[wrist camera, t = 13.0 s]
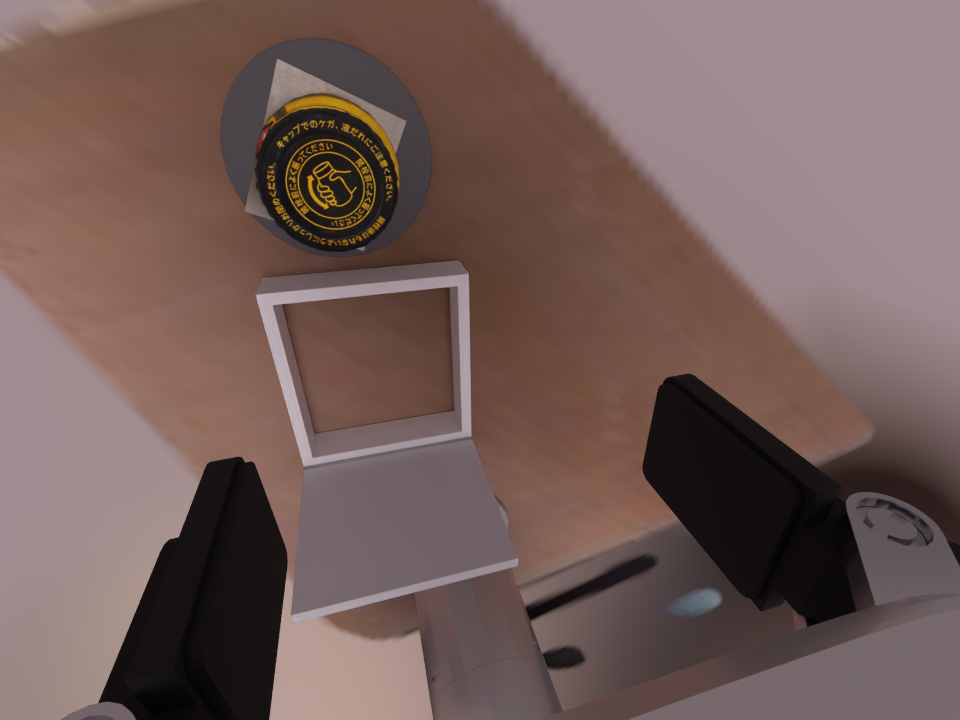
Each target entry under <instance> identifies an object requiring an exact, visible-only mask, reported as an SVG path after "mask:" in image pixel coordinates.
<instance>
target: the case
mask: <svg viewBox="0 0 960 720" xmlns="http://www.w3.org/2000/svg"><path fill="white" fill-rule="evenodd" d="M444 287H449V288H450V313H451V338H452V363H453V388H454V411H448V412H442V413H436V414H430V415H424V416H418V417H412V418H406V419H400V420H394V421H388V422H382V423H376V424H370V425H364V426H358V427H352V428H346V429H340V430H334V431H328V432H322V433H316V434H314V430H313V426H312V422H311V418H310V414H309V410H308V406H307V402H306V398H305V394H304V390H303V386H302V383H301V379H300V375H299V371H298V367H297V363H296V359H295V355H294V351H293V347H292V343H291V339H290V335H289V331H288V327H287V323H286V319H285V315H284V311H283V307H282V304H289V303H299V302H308V301H318V300H328V299H337V298H347V297H357V296H366V295H376V294H386V293H396V292H405V291H415V290H425V289H434V288H444ZM256 298H257V302H258V305H259V309H260V312H261V316H262V320H263V323H264V327H265V330H266V334H267V337H268V341H269V344H270V348H271V352H272V355H273V359H274V362H275V366H276V369H277V373H278V377H279V380H280V384H281V387H282V391H283V394H284V398H285V401H286V405H287V409H288V412H289V416H290V419H291V423H292V426H293V430H294V433H295V437H296V441H297V444H298V448H299V451H300V455H301V458H302V462H303V466H304V474H303V485H302V496H301V508H300V519H299V530H298V541H297V553H296V564H295V575H294V586H293V598H292V610H291V617H292V619H293V622H294V623H297V622H301V621H305V620H309V619H312V618H317V617H320V616H324V615H328V614H332V613H336V612H340V611H344V610H348V609H352V608H356V607H360V606H363V605H367V604H371V603H375V602H379V601H383V600H387V599H391V598H395V597H399V596H402V595H406V594H410V593H414V592H418V591H422V590H426V589H430V588H434V587H438V586H442V585H445V584H449V583H453V582H457V581H461V580H465V579H469V578H473V577H477V576H481V575H485V574H488V573H492V572H496V571H500V570H504V569H508V568H512V567H516V566H518V556H517V553H516V551H515V548H514V546H513V543H512V540H511V538H510V535H509V533H508V530H507V527H506V525H505V522H504V520H503V517H502V515H501V512H500V509H499V507H498V504H497V502H496V499H495V497H494V494H493V491H492V489H491V486H490V484H489V481H488V479H487V476H486V473H485V471H484V468H483V466H482V463H481V460H480V458H479V455H478V453H477V450H476V448H475V445H474V442H473V440H472V436H471V380H470V317H469V274H468V272H467V271H466V269H465V268H464V267H463V265H462V264H461V262H460V261H459V260H457V261H446V262H435V263H424V264H412V265H401V266H390V267H379V268H368V269H357V270H346V271H335V272H323V273H312V274H301V275H290V276H279V277H268V278H262V280H261V282H260V285H259V287H258V290H257V292H256Z"/></svg>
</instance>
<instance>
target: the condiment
mask: <svg viewBox="0 0 960 720" xmlns="http://www.w3.org/2000/svg"><path fill="white" fill-rule="evenodd" d="M405 124H406V121H405V120H403V119H401V118H399V117H397V116H395V115H393V114H391V113H389V112H387V111H385V110H382V109H380V108H378V107H376V106H374V105H372V104H370V103H368V102H366V101H364V100H362V99H360V98H358V97H356V96H354V95H351V94H349V93H347V92H345V91H343V90H341V89H339V88H337V87H335V86H333V85H331V84H329V83H327V82H325V81H323V80H321V79H318V78H316V77H314V76H313V75H310V74H308V73H306V72H304V71H302V70H300V69H298V68H296V67H294V66H292V65H290V64H288V63H285V62H283V61H281V60H279V59H277V62H276V67H275V72H274V77H273V81H272V86H271V91H270V96H269V101H268V105H267V110H266V115H265V119H264V124H263V128H262V131H261V133H260V135H259V139H258V143H257V147H256V151H255V166H254V169H253V175H252V179H251V184H250V189H249V193H248V197H247V202H246V207H245V212H248V213H251V214H254V215H257V216H261V217H264V218H267V219H270V220H273V221H275V224H276V225H277V226H279V228H281V229H283V230H284V231H285V232H286V234H287V235H289V236H290V237H291V238H293V239H294V240H296V241H298V242H299V243H302V244H304V245H306V246H308V247H311V248H315V249H317V250H322V251H327V252H346V251H349V250H353V249H359V250H362V251H364V249H365V246H367V245H368V244H369V243H370V242H371V241H372V240H375V239H376V238H377V236H378V235H379V234H381V232H382V231H383V230H385V229H386V227H387V225H388V223H389V222H390V220H392V216H393V214H394V209H395V207H396V206H397V201H398V193H399V186H400V182H399V167H398V161H397V157H396V151H397V148H398V145H399V142H400V139H401V136H402V133H403V130H404V127H405Z"/></svg>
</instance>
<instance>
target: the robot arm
mask: <svg viewBox="0 0 960 720" xmlns="http://www.w3.org/2000/svg"><path fill="white" fill-rule="evenodd" d="M643 473H644V476H645V478H646V480H647V481H648V482H649V483H650V485H651V486H652V487H653V488H654V489H655V491H656V492H657V493H658V494H659V496H660V497H661V498H662V499H663V500H664V502H665V503H666V504H667V505H668V506H669V508H670V509H671V510H672V511H673V513H674V514H675V515H676V516H677V517H678V519H679V520H680V521H681V522H682V523H683V525H684V526H685V527H686V528H687V530H688V531H689V532H690V533H691V534H692V536H693V537H694V538H695V539H696V540H697V542H698V543H699V544H700V545H701V547H702V548H703V549H704V550H705V551H706V553H708V555H709V556H710V557H711V559H712V560H713V561H714V562H715V564H716V565H717V566H718V567H719V568H720V570H721V571H722V572H723V573H724V574H725V576H726V577H727V578H728V579H729V581H730V582H731V583H732V584H733V585H734V587H735V588H736V589H737V590H738V591H739V592H740V593H741V594H742V595H743V596H745V597H747V598H750V599H751V600H752V601H753V602H754V604H755V605H756V606H757V607H758V608H759V610H760V611H764V610H767V609H770V608H773V607H776V606H779V605H782V604H783V602H784V600H786V601H787V602H788V603H789V604H790V605H791V607H792V608H793V613H794V620H795V628H796V631H795V632H792V633H789V634H786V635H783V636H780V637H777V638H775V639H771V640H768V641H765V642H763V643H760V644H757V645H754V646H751V647H748V648H745V649H742V650H739V651H736V652H733V653H731V654H727V655H725V656H721V657H718V658H716V659H713V660H710V661H707V662H704V663H701V664H698V665H695V666H692V667H690V668H687V669H684V670H681V671H678V672H675V673H672V674H669V675H666V676H664V677H661V678H658V679H655V680H652V681H649V682H646V683H643V684H640V685H637V686H635V687H632V688H629V689H626V690H623V691H621V692H617V693H615V694H612V695H609V696H606V697H603V698H600V699H597V700H594V701H592V702H589V703H586V704H583V705H580V706H577V707H575V708H571V709H569V710H566V711H563V709H562V707H561V704H560V702H559V699H558V696H557V694H556V691H555V688H554V686H553V683H552V680H551V678H550V675H549V672H548V669H547V666H546V663H545V661H544V658H543V655H542V652H541V650H540V647H539V645H538V642H537V639H536V636H535V633H534V630H533V628H532V625H531V622H530V619H529V617H528V614H527V611H526V608H525V606H524V603H523V600H522V598H521V595H520V592H519V589H518V586H517V584H516V581H515V578H514V575H513V573H512V570H511V568H508V569H504V570H500V571H496V572H492V573H488V574H485V575H481V576H477V577H473V578H469V579H465V580H461V581H457V582H453V583H449V584H445V585H442V586H438V587H434V588H430V589H426V590H422V591H418V592H414V597H415V603H416V610H417V616H418V623H419V630H420V636H421V643H422V649H423V655H424V662H425V668H426V676H427V682H428V689H429V695H430V701H431V708H432V715H433V720H960V545H959V544H956V543H952V542H949V541H946V539H945V536H944V534H943V533H942V532H941V530H940V529H939V527H938V526H937V525H936V524H935V523H934V522H933V521H932V520H931V519H930V518H929V517H927V516H926V515H925V514H924V513H922V512H921V511H919V510H917V509H916V508H914V507H912V506H911V505H909V504H907V503H905V502H902V501H900V500H898V499H896V498H892V497H889V496H886V495H883V494H877V493H871V492H864V493H863V492H861V493H856V494H853V495H851V496H850V497H849V498H848V500H847V501H846V502H844V501H842V500H841V499H840V498H838V495H839V493H840V491H841V489H842V487H841V486H840V485H839V484H837V483H836V482H835V481H833V480H832V479H831V478H829V477H828V476H827V475H825V474H824V473H823V472H821V471H820V470H818V469H817V468H816V467H815V466H813V465H812V464H811V463H809V462H808V461H807V460H806V459H804V458H803V457H802V456H800V455H799V454H798V453H796V452H795V451H794V450H792V449H791V448H790V447H788V446H787V445H786V444H784V443H783V442H782V441H780V440H779V439H778V438H776V437H775V436H774V435H772V434H771V433H770V432H768V431H767V430H766V429H764V428H763V427H762V426H760V425H759V424H758V423H756V422H755V421H754V420H752V419H751V418H750V417H748V416H747V415H746V414H745V413H743V412H742V411H741V410H739V409H738V408H737V407H735V406H734V405H733V404H731V403H730V402H729V401H727V400H726V399H725V398H723V397H722V396H721V395H719V394H718V393H717V392H715V391H714V390H713V389H711V388H710V387H709V386H707V385H706V384H705V383H703V382H702V381H701V380H699V379H698V378H697V377H695V376H694V375H692V374H684V375H678V376H673V377H668V378H666V379H665V380H664V382H663V384H662V385H660V387H659V389H658V392H657V397H656V402H655V407H654V412H653V417H652V422H651V427H650V432H649V436H648V441H647V446H646V451H645V456H644V461H643ZM495 499H496V498H495ZM496 502H497V504H498V507H499V509H500V512H501V515H502V517H503V520H504V522H505V525H506V527H507V530H508V527H509V523H508V517H507V514H506V511H505V509H504V507H503V506H502V504H501V503H500V502H499V501H498V500H497V499H496ZM287 563H288V562H287V551H286V547H285V544H284V542H283V539H282V536H281V534H280V531H279V528H278V525H277V523H276V520H275V517H274V515H273V512H272V509H271V507H270V504H269V501H268V498H267V496H266V493H265V490H264V488H263V485H262V482H261V480H260V477H259V474H258V471H257V469H256V466H255V464H254V463H253V462H247V463H245V462H244V460H243V459H242V457H234V458H229V459H224V460H218V461H213V462H209V463H208V464H207V466H206V467H205V470H204V473H203V475H202V478H201V480H200V483H199V486H198V488H197V491H196V494H195V496H194V499H193V502H192V504H191V507H190V509H189V512H188V515H187V517H186V520H185V523H184V525H183V528H182V530H181V533H180V536H179V537H178V538H174V539H170V540H168V541H167V542H166V543H165V545H164V546H163V548H162V550H161V552H160V554H159V556H158V559H157V561H156V564H155V566H154V569H153V571H152V573H151V576H150V578H149V581H148V583H147V586H146V588H145V590H144V593H143V595H142V598H141V600H140V603H139V605H138V608H137V610H136V612H135V615H134V617H133V620H132V622H131V625H130V627H129V629H128V632H127V634H126V637H125V639H124V642H123V644H122V647H121V649H120V651H119V654H118V657H117V659H116V661H115V664H114V666H113V669H112V671H111V673H110V676H109V678H108V681H107V683H106V686H105V688H104V690H103V693H102V695H101V698H100V700H99V703H98V704H93V705H88V706H86V707H84V708H82V709H80V710H78V711H75V712H73V713H71V714H69V715H68V716H66V717H64V718H63V719H61V720H269V716H270V708H271V700H272V691H273V682H274V674H275V666H276V657H277V649H278V641H279V632H280V623H281V615H282V607H283V599H284V590H285V581H286V573H287Z"/></svg>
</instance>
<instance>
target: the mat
mask: <svg viewBox="0 0 960 720" xmlns="http://www.w3.org/2000/svg"><path fill="white" fill-rule="evenodd" d="M277 59H279V60H281V61H283V62H285V63H288V64H290V65H292V66H294V67H296V68H298V69H300V70H302V71H304V72H306V73H308V74H310V75H313V76H314V77H316V78H318V79H321V80H323V81H325V82H327V83H329V84H331V85H333V86H335V87H337V88H339V89H341V90H343V91H345V92H347V93H349V94H351V95H354V96H356V97H358V98H360V99H362V100H364V101H366V102H368V103H370V104H372V105H374V106H376V107H378V108H380V109H382V110H385V111H387V112H389V113H391V114H393V115H395V116H397V117H399V118H401V119H403V120H405V121H406V124H405V127H404V130H403V133H402V136H401V139H400V142H399V145H398V148H397V151H396V157H397V161H398V167H399V182H400V186H399V193H398V201H397V206H396V207H395V209H394V214H393V216H392V220H390V222H389V223H388V225H387V227H386V229H385V230H383V231H382V232H381V234H379V235H378V236H377V238H376V239H375V240H372V241H371V242H370V243H369V244H368V245H367V246H365V249H364V251H362V250H359V249H353V250H349V251H346V252H327V251H322V250H317V249H315V248H311V247H308V246H306V245H304V244H302V243H299V242H298V241H296V240H294V239H293V238H291V237H290V236H289V235H287V234H286V232H285V231H284V230H283V229H281V228H279V226H277V225H276V224H275V221H273V220H270V219H267V218H264V217H261V216H257V215H254V214H252V215H253V216H254V217H255V218H256V219H257V220H258V221H259V222H260V223H261V224H262V225H263V226H264V227H265V228H266V229H268V230H269V231H270V232H271V233H273V234H274V235H275V236H277V237H278V238H280V239H281V240H283V241H285V242H286V243H288V244H290V245H292V246H294V247H296V248H298V249H301V250H304V251H307V252H310V253H313V254H318V255H322V256H330V257H351V256H358V255H363V254H366V253H370V252H373V251H375V250H377V249H380V248H382V247H384V246H385V245H387V244H389V243H390V242H392V241H393V240H395V239H396V238H397V237H398V236H400V235H401V234H402V233H403V232H404V231H405V230H406V229H407V228H408V227H409V226H410V224H411V223H412V222H413V220H414V219H415V218H416V216H417V214H418V212H419V211H420V209H421V207H422V205H423V202H424V200H425V197H426V194H427V191H428V187H429V183H430V175H431V150H430V142H429V138H428V134H427V129H426V127H425V124H424V121H423V118H422V116H421V113H420V111H419V109H418V107H417V105H416V103H415V102H414V100H413V98H412V97H411V95H410V94H409V92H408V91H407V89H406V88H405V87H404V86H403V84H402V83H401V82H400V81H399V80H398V78H397V77H396V76H395V75H394V74H393V73H392V72H390V71H389V70H388V69H387V68H386V67H385V66H384V65H383V64H381V63H380V62H378V61H377V60H376V59H374V58H373V57H371V56H370V55H368V54H366V53H364V52H363V51H361V50H359V49H357V48H354V47H352V46H349V45H347V44H344V43H340V42H336V41H332V40H325V39H315V38H311V39H297V40H293V41H288V42H284V43H281V44H279V45H276V46H274V47H271V48H269V49H268V50H266V51H264V52H263V53H261V54H259V55H258V56H257V57H255V58H254V59H253V60H252V61H251V62H250V63H249V64H247V65H246V67H245V68H244V69H243V70H242V71H241V73H240V74H239V75H238V76H237V78H236V80H235V81H234V83H233V85H232V87H231V89H230V91H229V93H228V96H227V99H226V101H225V104H224V109H223V114H222V118H221V146H222V153H223V158H224V162H225V166H226V169H227V172H228V175H229V178H230V180H231V182H232V184H233V186H234V188H235V190H236V192H237V194H238V196H239V197H240V199H241V200H242V202H243V203H244V205H245V206H246V202H247V197H248V193H249V189H250V184H251V179H252V175H253V169H254V166H255V151H256V147H257V143H258V139H259V135H260V133H261V131H262V128H263V124H264V119H265V115H266V110H267V105H268V101H269V96H270V91H271V86H272V81H273V77H274V72H275V67H276V62H277Z"/></svg>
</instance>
